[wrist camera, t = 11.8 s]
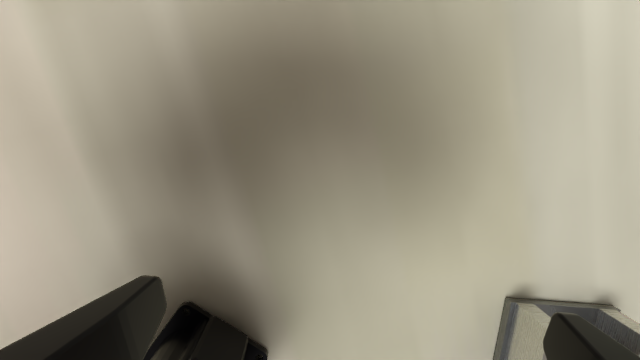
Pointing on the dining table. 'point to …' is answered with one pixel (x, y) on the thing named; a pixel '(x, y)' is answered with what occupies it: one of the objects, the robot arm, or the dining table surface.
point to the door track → (533, 319)
